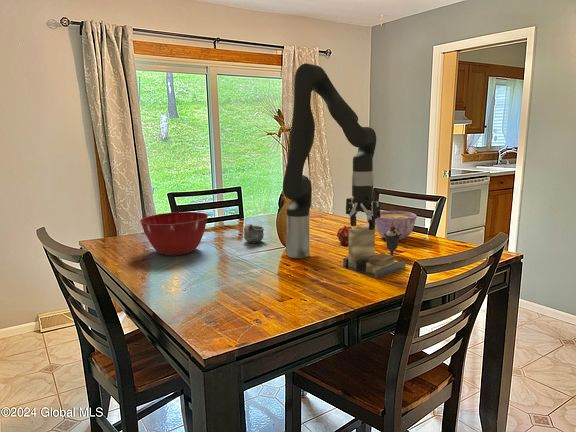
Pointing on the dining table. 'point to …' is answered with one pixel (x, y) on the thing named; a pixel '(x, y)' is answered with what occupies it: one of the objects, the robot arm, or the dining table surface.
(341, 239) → the dragon fruit
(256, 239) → the mug
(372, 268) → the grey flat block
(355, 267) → the rack
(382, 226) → the bowl of food
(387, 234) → the sundae
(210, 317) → the dining table surface
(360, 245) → the pale wood block
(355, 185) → the robot arm
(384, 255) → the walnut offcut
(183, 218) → the mixing bowl
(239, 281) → the dining table surface
